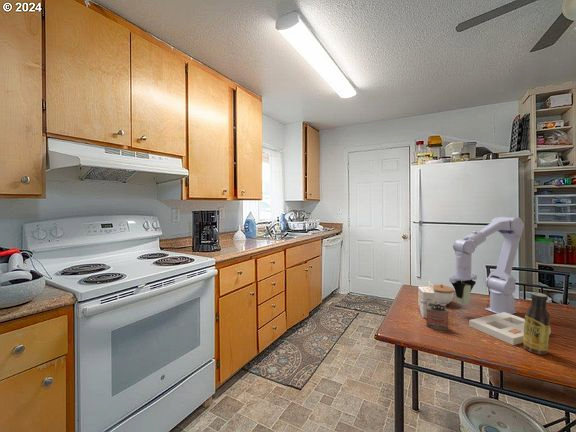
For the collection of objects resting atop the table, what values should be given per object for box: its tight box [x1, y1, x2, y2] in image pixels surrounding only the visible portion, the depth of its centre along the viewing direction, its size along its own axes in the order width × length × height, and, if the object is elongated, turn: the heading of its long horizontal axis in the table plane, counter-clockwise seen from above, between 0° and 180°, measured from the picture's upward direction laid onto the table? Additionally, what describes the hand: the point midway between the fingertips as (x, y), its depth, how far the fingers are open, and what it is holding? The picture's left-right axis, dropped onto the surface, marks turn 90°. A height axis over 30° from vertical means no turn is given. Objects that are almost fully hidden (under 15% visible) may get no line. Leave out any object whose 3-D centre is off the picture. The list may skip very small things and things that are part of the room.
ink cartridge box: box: [417, 280, 436, 319], centre depth 121 cm, size 9×5×15 cm, turn 168°
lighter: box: [425, 302, 450, 331], centre depth 108 cm, size 8×3×10 cm, turn 71°
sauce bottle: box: [522, 291, 551, 356], centre depth 90 cm, size 7×6×20 cm
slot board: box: [468, 312, 552, 346], centre depth 106 cm, size 22×16×3 cm
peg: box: [454, 284, 472, 305], centre depth 119 cm, size 4×4×8 cm
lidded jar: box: [431, 284, 455, 306], centre depth 135 cm, size 11×11×9 cm
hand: (462, 296), depth 119 cm, fingers closed on peg, 4 cm apart
